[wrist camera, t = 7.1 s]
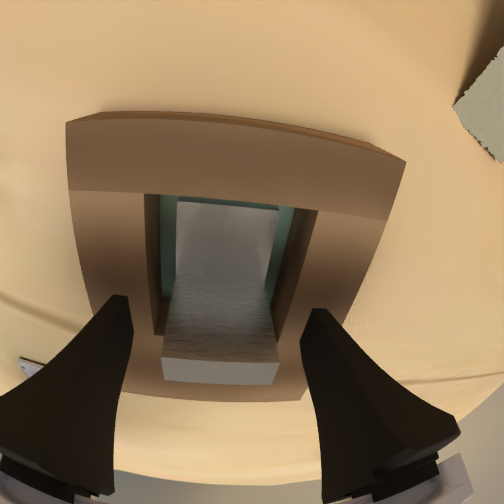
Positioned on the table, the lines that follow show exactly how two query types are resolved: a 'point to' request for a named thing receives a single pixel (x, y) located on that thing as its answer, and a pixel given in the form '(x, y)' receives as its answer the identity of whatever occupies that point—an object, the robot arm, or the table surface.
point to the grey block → (221, 294)
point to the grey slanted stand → (486, 107)
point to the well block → (228, 188)
